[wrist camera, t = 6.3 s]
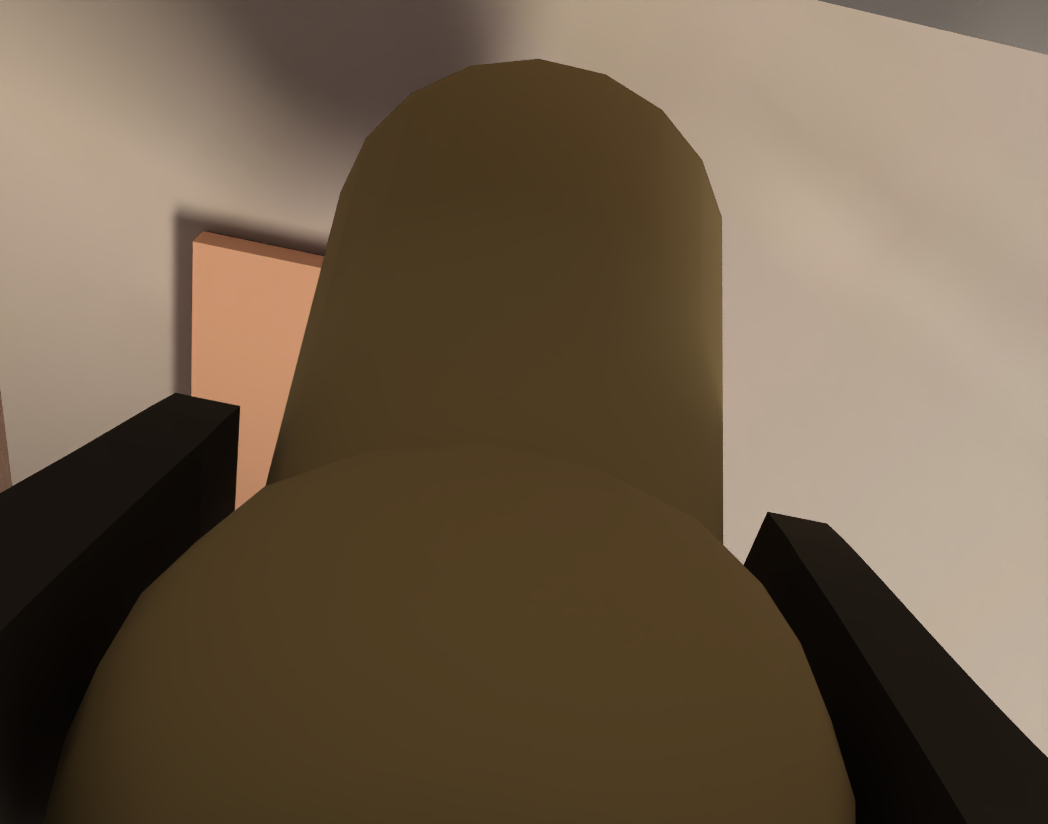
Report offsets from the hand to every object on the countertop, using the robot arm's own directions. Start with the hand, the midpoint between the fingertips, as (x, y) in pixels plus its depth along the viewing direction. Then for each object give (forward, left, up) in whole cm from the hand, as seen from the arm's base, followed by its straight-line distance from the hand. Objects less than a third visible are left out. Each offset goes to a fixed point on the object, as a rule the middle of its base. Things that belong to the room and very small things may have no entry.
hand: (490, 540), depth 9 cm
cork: (0, 0, -6) cm, 6 cm away
